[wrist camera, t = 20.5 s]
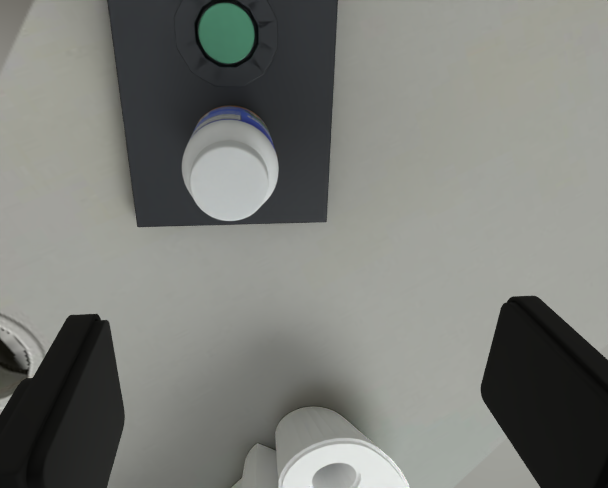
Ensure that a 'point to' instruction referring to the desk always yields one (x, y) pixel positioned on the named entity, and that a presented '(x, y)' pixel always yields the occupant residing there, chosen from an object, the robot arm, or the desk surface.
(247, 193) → the pill bottle
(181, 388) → the desk surface
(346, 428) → the white letter sign
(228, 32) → the button
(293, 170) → the dark grey flat slab
